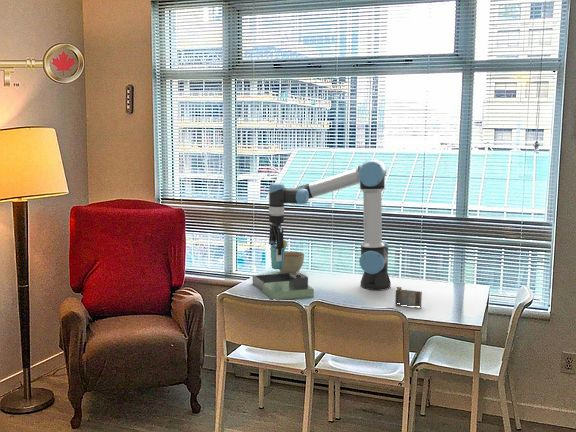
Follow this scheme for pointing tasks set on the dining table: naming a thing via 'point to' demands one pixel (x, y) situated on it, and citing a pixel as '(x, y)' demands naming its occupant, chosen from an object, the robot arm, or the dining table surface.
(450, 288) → the dining table surface
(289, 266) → the planter bowl
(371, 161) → the robot arm
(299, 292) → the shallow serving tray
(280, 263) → the cup
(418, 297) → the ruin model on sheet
